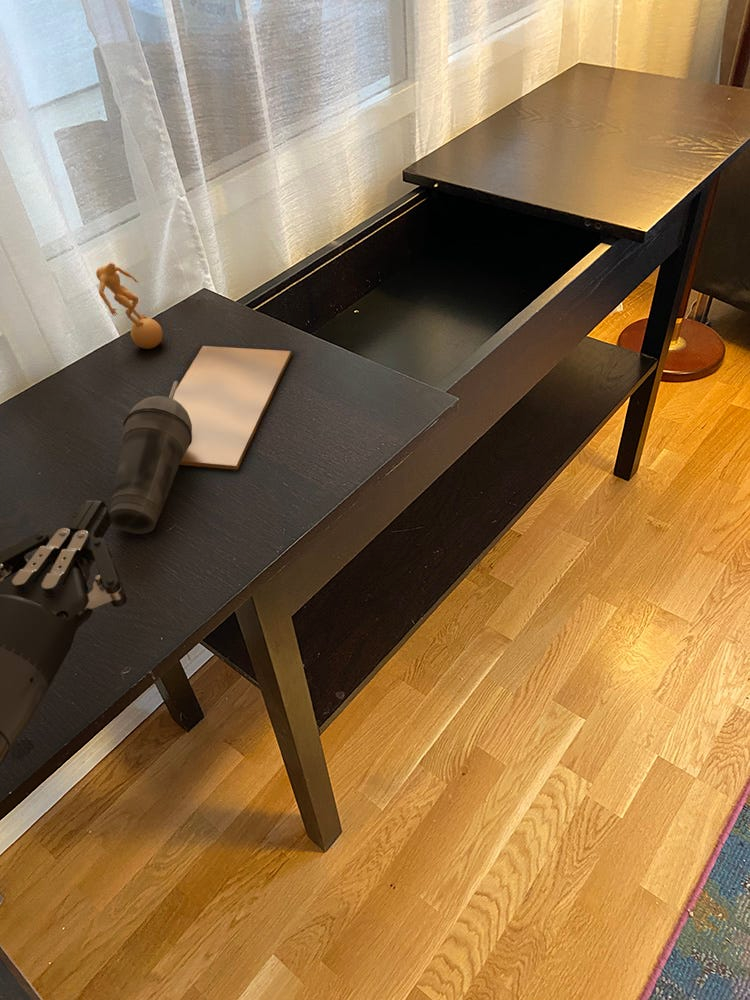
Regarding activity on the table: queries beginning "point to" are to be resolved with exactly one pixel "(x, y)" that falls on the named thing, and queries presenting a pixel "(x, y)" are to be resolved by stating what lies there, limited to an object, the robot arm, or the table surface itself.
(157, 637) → the table surface
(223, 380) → the tan rectangular board
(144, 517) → the beverage cup
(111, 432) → the table surface
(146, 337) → the figurine
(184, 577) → the table surface
